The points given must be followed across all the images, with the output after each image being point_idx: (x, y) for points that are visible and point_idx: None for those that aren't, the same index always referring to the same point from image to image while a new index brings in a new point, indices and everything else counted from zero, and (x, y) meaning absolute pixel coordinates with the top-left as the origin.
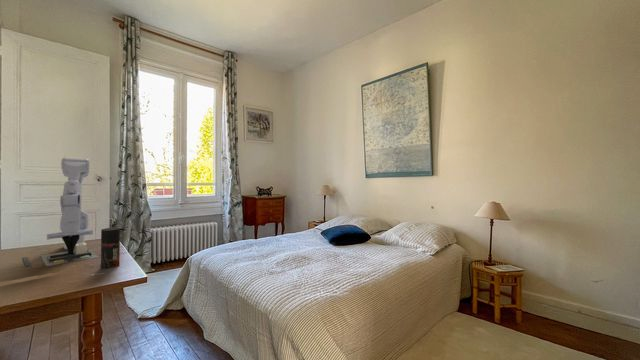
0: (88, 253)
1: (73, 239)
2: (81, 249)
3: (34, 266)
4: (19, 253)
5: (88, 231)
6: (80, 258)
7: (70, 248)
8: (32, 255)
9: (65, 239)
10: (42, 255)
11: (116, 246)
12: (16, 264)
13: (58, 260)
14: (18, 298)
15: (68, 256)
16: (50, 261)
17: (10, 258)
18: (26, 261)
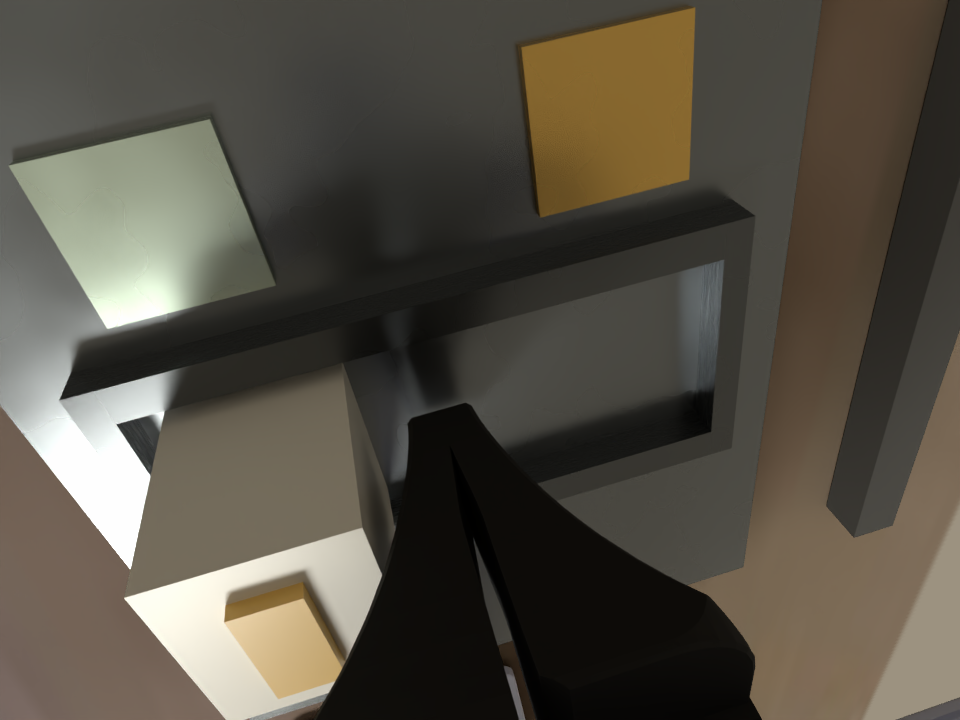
0: (115, 384)
1: (472, 677)
2: (255, 468)
3: (865, 160)
4: (804, 705)
5: None
6: (215, 111)
7: (474, 476)
8: (752, 640)
9: (705, 638)
10: (729, 557)
11: None
12: (944, 378)
13: (617, 136)
14: None
15: (467, 292)
16: (719, 176)
17: (892, 598)
18: (939, 327)
